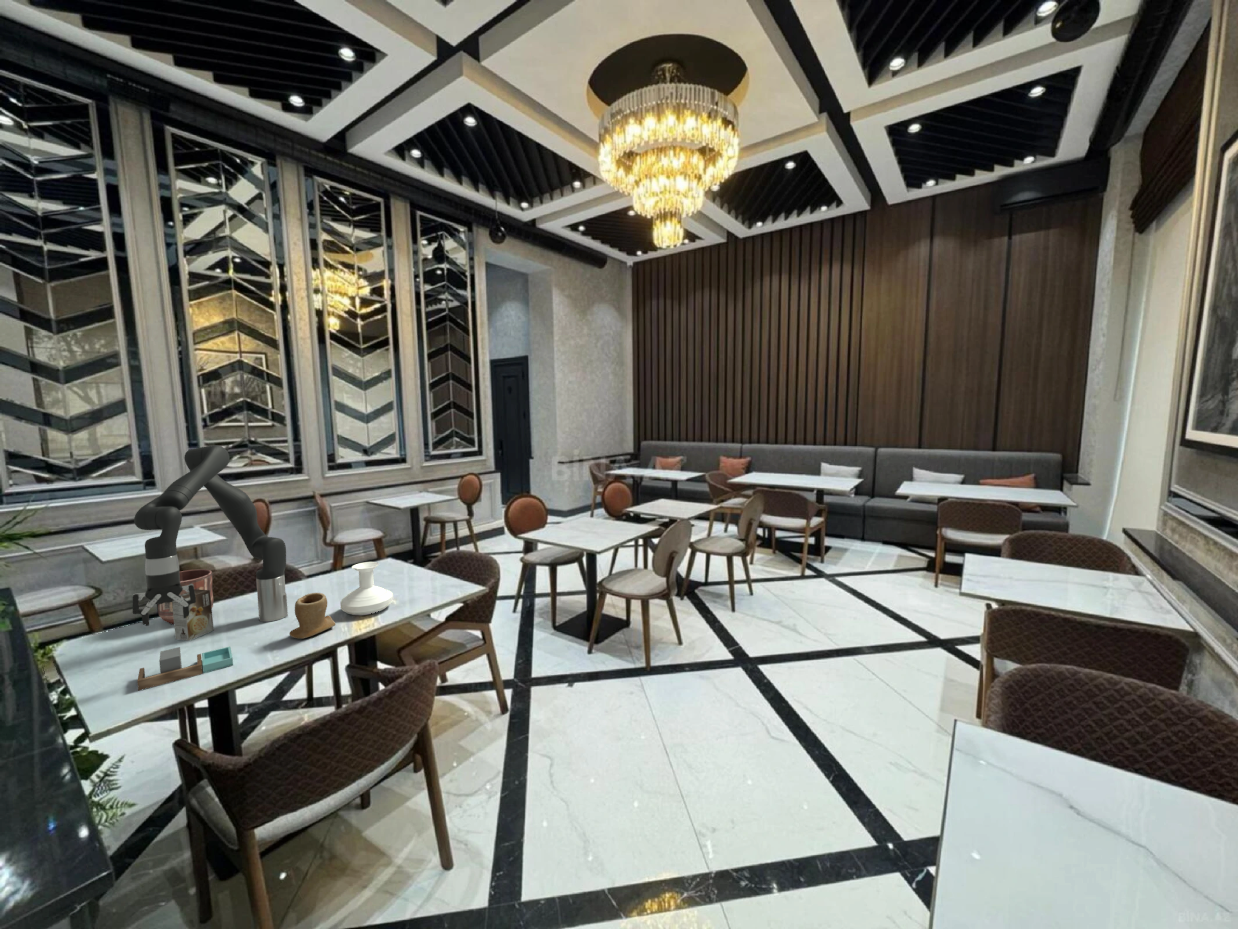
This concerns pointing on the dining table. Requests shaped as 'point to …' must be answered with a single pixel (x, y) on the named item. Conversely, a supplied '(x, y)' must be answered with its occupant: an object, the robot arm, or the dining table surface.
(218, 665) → the teal tray
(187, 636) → the coffee box
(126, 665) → the dining table surface
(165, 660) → the chamfered grey block
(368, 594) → the white vase
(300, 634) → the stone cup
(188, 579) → the pottery
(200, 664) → the walnut bay
